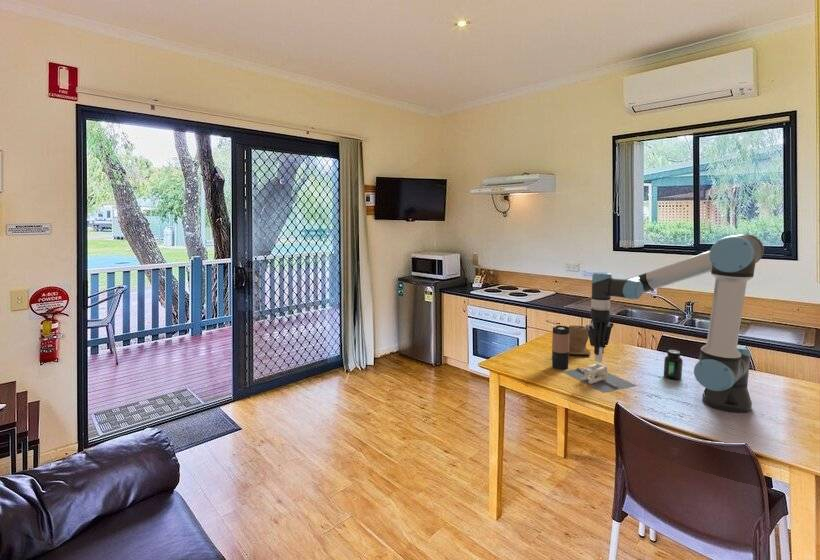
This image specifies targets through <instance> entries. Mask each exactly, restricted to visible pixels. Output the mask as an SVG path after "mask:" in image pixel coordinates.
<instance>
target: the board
mask: <svg viewBox="0 0 820 560" xmlns="http://www.w3.org/2000/svg"><path fill="white" fill-rule="evenodd" d="M581 368H582V367H581ZM581 368H580V367H576V368H575V369H569V370H568V369H567V370H561V372H562V373H564V374H566V375H568V376H569V377H571V378H574V379H575V380H578V381H579V382H581V383H583V384H585V385H587V386H589V387H591V388H593V389H595V390H597V391H600V392H601V393H604V394H605V393H608V392H610V393H611V392H614V391H618V390H624V389H628V388H629V389H630V388H634V387H635V388H636V387H638V385H636V384H634V383H633V382H630V381H627V380H625V379H624V378H621V377H619V376H616V375H614V374H612V373H610V372H607V374H608V379H607V380H606V379H604V380H601V381H599V382H596V383H593V384H589V380H585V381H583V380H582V377H585V373H584V372H582V371H581ZM594 369H596V368H593V369H591V370H594ZM598 377H600V376H596V377H595V378H598Z"/></svg>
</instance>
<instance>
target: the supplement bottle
mask: <svg viewBox="0 0 820 560" xmlns="http://www.w3.org/2000/svg"><path fill="white" fill-rule="evenodd" d="M663 361H664V362H663V377H664V378H665V379H668V380H672V381H680V380H681V379H682V376H683V363H684V361H683V359H682V357H681V351H679V350H677V349H668V350H667V353H666V356H665V357H664V360H663Z"/></svg>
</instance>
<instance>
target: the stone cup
mask: <svg viewBox="0 0 820 560" xmlns="http://www.w3.org/2000/svg"><path fill="white" fill-rule="evenodd" d="M568 327H569V355H576V356H577V355H580V356H583V355H584V356H586V355H591V353H592V351H591V350H590V349H588V348H587V344H588V343H587V342H588V340H589V334H588V330H587V328H586V326H584V325H572V324H571V325H569V326H568Z"/></svg>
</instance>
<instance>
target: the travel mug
mask: <svg viewBox="0 0 820 560" xmlns="http://www.w3.org/2000/svg"><path fill="white" fill-rule="evenodd" d="M551 344H552V346H551V358H552V359H551V360H552V362H551V363H552V364H551V366H552V369H555V370H560V371H567V370H568V369H569V361H570V360H569V359H570V354H569V326H566V325H555V326H552V342H551Z"/></svg>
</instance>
